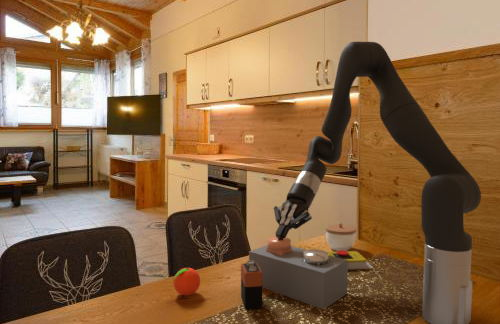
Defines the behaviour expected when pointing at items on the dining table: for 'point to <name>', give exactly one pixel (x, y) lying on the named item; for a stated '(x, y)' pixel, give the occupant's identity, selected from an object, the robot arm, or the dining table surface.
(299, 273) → the console
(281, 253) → the orange canister
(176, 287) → the clementine
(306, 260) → the silver jar
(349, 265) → the emergency button
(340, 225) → the lidded jar
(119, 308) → the dining table surface
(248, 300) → the battery
